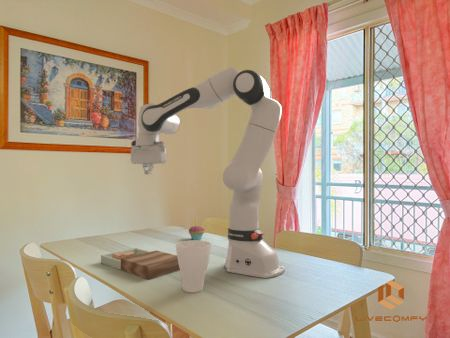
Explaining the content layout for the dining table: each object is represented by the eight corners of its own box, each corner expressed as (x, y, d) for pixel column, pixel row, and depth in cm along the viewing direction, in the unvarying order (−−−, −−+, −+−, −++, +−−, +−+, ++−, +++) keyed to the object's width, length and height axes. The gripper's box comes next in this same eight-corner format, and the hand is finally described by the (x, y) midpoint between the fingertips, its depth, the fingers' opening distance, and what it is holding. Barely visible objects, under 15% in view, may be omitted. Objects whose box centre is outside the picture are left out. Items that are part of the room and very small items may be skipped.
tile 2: (130, 262, 121) (135, 263, 119) (121, 264, 118) (126, 266, 116) (130, 251, 121) (135, 253, 119) (121, 253, 118) (126, 255, 116)
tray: (156, 260, 125) (156, 253, 126) (120, 269, 113) (120, 261, 113) (136, 255, 134) (136, 248, 134) (100, 263, 121) (101, 255, 121)
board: (184, 268, 116) (184, 257, 116) (149, 279, 103) (149, 267, 103) (156, 260, 125) (156, 250, 126) (120, 269, 113) (120, 258, 113)
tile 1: (121, 252, 125) (121, 259, 125) (112, 254, 121) (112, 261, 121) (127, 253, 122) (127, 261, 122) (118, 255, 119) (118, 263, 119)
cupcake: (187, 238, 170) (187, 216, 170) (202, 237, 172) (202, 215, 172) (190, 241, 161) (190, 218, 162) (206, 240, 164) (206, 217, 164)
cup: (217, 288, 95) (218, 243, 95) (191, 298, 87) (192, 249, 88) (194, 280, 102) (194, 238, 102) (168, 289, 94) (168, 243, 95)
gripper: (170, 141, 132) (169, 174, 132) (140, 144, 145) (139, 174, 145) (158, 140, 127) (157, 174, 127) (128, 142, 140) (127, 174, 140)
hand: (148, 174), depth 136 cm, fingers closed
